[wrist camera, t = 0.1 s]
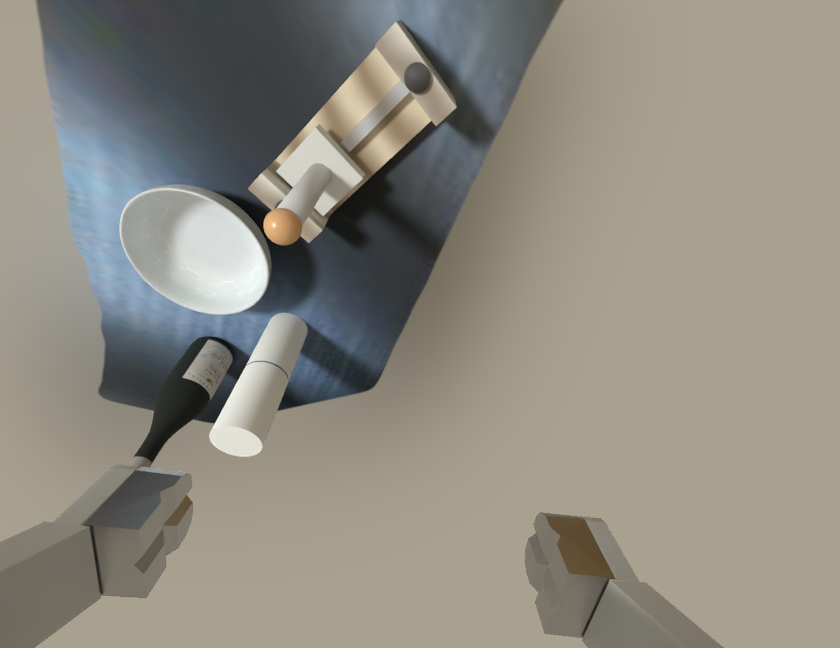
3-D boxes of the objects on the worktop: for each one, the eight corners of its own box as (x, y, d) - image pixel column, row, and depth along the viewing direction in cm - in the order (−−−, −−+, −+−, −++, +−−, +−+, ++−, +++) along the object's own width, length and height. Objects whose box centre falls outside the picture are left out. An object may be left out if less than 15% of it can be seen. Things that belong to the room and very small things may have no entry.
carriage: (319, 123, 49) (267, 174, 34) (365, 173, 53) (336, 239, 38) (280, 166, 52) (217, 230, 37) (326, 210, 56) (285, 284, 41)
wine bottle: (220, 330, 75) (123, 476, 51) (243, 359, 79) (163, 505, 56) (185, 338, 76) (74, 483, 53) (209, 366, 81) (117, 511, 58)
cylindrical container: (302, 312, 71) (253, 425, 52) (311, 341, 76) (268, 456, 56) (264, 313, 72) (200, 426, 52) (275, 342, 76) (220, 456, 57)
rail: (400, 20, 45) (395, 21, 39) (454, 96, 49) (456, 108, 43) (266, 171, 56) (246, 189, 50) (320, 222, 60) (308, 244, 55)
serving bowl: (145, 146, 54) (113, 161, 49) (295, 206, 59) (281, 226, 54) (146, 265, 66) (120, 288, 61) (270, 307, 71) (256, 332, 66)
